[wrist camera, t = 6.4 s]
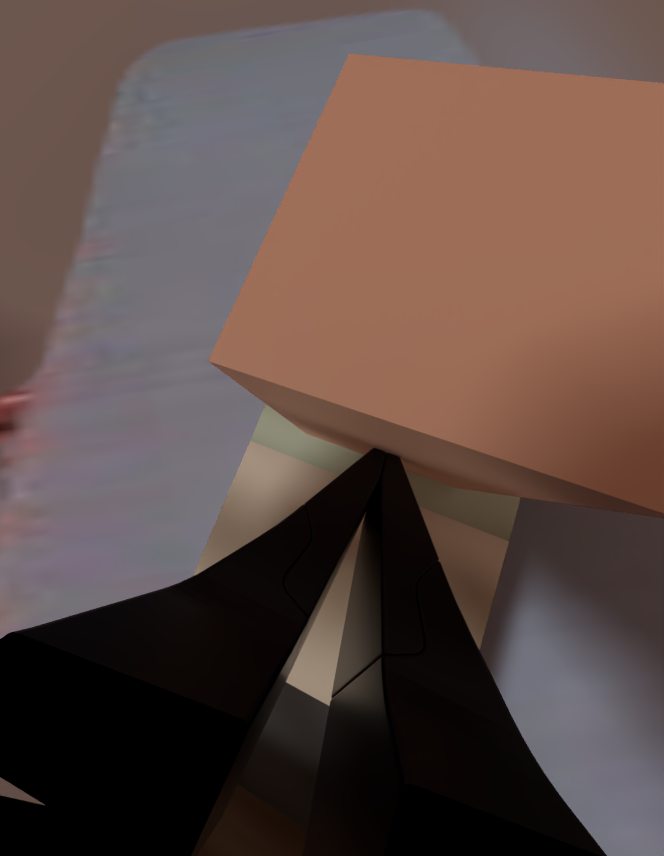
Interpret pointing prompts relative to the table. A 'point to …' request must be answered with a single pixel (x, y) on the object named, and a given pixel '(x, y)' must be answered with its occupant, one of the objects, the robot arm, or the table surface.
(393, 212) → the terracotta block
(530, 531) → the table surface
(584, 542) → the table surface
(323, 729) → the track
